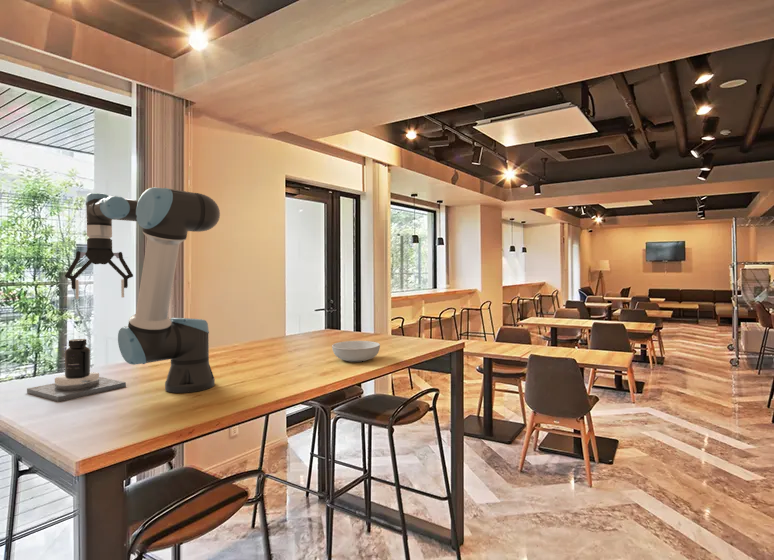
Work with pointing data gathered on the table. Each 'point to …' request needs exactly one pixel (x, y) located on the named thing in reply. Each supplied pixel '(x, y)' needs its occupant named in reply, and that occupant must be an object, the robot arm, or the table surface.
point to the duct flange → (75, 387)
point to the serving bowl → (356, 350)
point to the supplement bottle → (77, 359)
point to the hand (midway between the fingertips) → (100, 298)
